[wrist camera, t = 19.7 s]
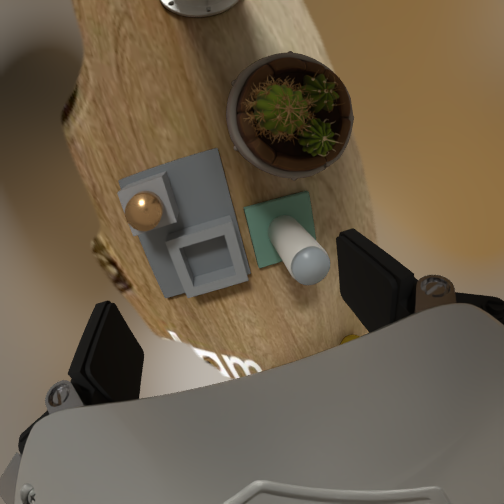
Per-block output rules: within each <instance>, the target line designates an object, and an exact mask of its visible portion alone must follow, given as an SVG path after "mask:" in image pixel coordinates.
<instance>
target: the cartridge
mask: <svg viewBox="0 0 504 504" xmlns="http://www.w3.org/2000/svg"><path fill="white" fill-rule="evenodd" d="M268 237H269V239H270V241H271V243H272V244H273V246H274V247H275V249H276V251H277V252H278V254H279V256H280V257H281V259H282V261H283V262H284V264H285V266H286V267H287V269H288V271H289V272H290V274H291V276H292V277H293V278H294V279H295V280H297V281H298V282H299V283H301V284H303V285H313V284H316V283H318V282H320V281H321V280H322V279H324V277H325V276H326V275H327V273H328V272H329V269H330V259H329V257H328V255H327V252H326V251H325V250H324V248H323V247H322V246H321V245H320V244H319V243H318V242H317V241H316V240H315V239H314V238H313V237H312V236H311V235H310V234H309V233H308V232H307V231H306V230H305V229H304V228H303V227H302V226H301V225H300V224H299V223H298V222H297V221H296V220H295V219H294V218H293V217H291V216H288V215H282V216H278V217H276V218H275V219H274V220H273V221H272V222H271V223H270V225H269V227H268Z"/></svg>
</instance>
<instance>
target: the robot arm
mask: <svg viewBox="0 0 504 504" xmlns="http://www.w3.org/2000/svg"><path fill="white" fill-rule="evenodd" d="M160 1H161V3H162V4H163V5H164V6H165V8H167V9H168V10H170V11H171V12H173V13H176V14H178V15H182V16H186V17H207V16H212V15H216V14H219V13H222V12H224V11H226V10H228V9H229V8H231V7H232V6H234V5H235V4H236V3H237V2H238V1H239V0H160ZM170 5H172V6H170ZM207 11H210V12H207ZM336 244H337V255H338V267H339V282H340V293H341V296H342V298H343V300H344V301H345V302H346V303H347V305H348V306H349V307H350V308H351V310H352V311H353V312H354V313H355V315H356V316H357V317H358V318H359V320H360V321H361V322H362V324H363V325H364V326H365V327H366V329H367V330H368V331H369V333H368V334H365V335H363V336H361V337H358V338H356V339H353V340H351V341H349V342H346V343H343V344H341V345H338V346H336V347H333V348H331V349H328V350H325V351H322V352H320V353H317V354H314V355H311V356H309V357H306V358H303V359H300V360H297V361H294V362H291V363H288V364H285V365H281V366H278V367H275V368H272V369H269V370H265V371H262V372H258V373H255V374H251V375H248V376H244V377H241V378H237V379H233V380H229V381H225V382H222V383H218V384H213V385H209V386H205V387H200V388H195V389H191V390H186V391H182V392H176V393H171V394H165V395H160V396H154V397H148V398H142V399H139V394H140V385H141V376H142V369H143V368H142V367H143V361H144V352H143V349H142V348H141V346H140V345H139V343H138V342H137V340H136V338H135V337H134V335H133V333H132V332H131V330H130V329H129V327H128V325H127V324H126V322H125V320H124V318H123V317H122V315H121V313H120V311H119V310H118V308H117V306H116V305H115V303H111V302H110V301H105V302H102V303H98V304H96V305H95V308H94V310H93V312H92V314H91V316H90V319H89V321H88V324H87V326H86V328H85V330H84V333H83V335H82V338H81V340H80V343H79V345H78V348H77V350H76V353H75V355H74V358H73V361H72V363H71V366H70V369H69V372H68V375H69V376H70V377H71V378H72V379H71V382H69V381H66V380H62V381H60V382H57V383H56V384H54V385H53V386H52V387H51V388H50V390H49V391H48V393H47V395H46V398H45V403H46V407H47V411H46V412H45V413H44V414H43V415H42V416H41V417H40V418H38V419H37V420H36V421H35V422H34V423H33V424H32V425H31V426H30V427H28V428H27V429H26V430H25V431H24V432H23V433H22V434H21V435H20V438H19V445H18V447H19V451H20V454H19V453H16V454H15V456H14V457H13V458H12V460H11V462H10V463H9V465H8V466H7V468H6V470H5V471H4V473H3V474H2V476H1V478H0V496H1V497H2V499H3V500H4V502H5V503H6V504H504V301H503V300H501V299H500V298H497V297H493V296H492V297H491V296H483V295H474V294H466V293H456V292H455V288H454V285H453V283H452V282H451V281H450V280H448V279H447V278H445V277H443V276H440V275H427V276H424V277H422V278H420V279H419V280H417V279H416V278H415V277H414V273H412V272H411V271H410V270H409V269H407V268H406V267H405V266H403V265H402V264H401V263H400V262H398V261H397V260H396V259H394V258H393V257H392V256H390V255H389V254H388V253H386V252H385V251H384V250H382V249H381V248H380V247H378V246H377V245H376V244H374V243H373V242H372V241H370V240H369V239H367V238H366V237H365V236H363V235H362V234H361V233H359V232H358V231H356V230H355V229H350V230H346V231H343V232H340V234H339V237H337V238H336Z"/></svg>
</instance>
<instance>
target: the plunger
mask: <svg viewBox="0 0 504 504" xmlns="http://www.w3.org/2000/svg"><path fill="white" fill-rule="evenodd" d="M162 214H163V203H162V200H161V199H160V197H159V196H158V195H157V194H155V193H154V192H151V191H141V192H138V193H136V194H135V195H134V196H133V197H132V198H131V199H130V200H129V202H128V203H127V205H126V208H125V217H126V220H127V222H128V223H129V225H130V226H131V227H133V228H134V229H136V230H138V231H149V230H151V229H153V228H155V227H156V226H157V225H158V223H159V222H160V219H161V217H162Z"/></svg>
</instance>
